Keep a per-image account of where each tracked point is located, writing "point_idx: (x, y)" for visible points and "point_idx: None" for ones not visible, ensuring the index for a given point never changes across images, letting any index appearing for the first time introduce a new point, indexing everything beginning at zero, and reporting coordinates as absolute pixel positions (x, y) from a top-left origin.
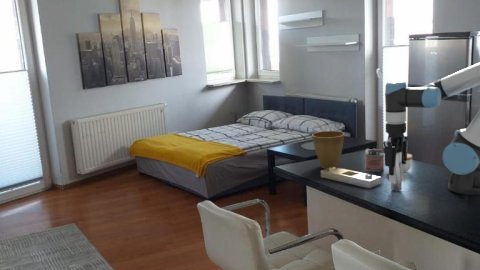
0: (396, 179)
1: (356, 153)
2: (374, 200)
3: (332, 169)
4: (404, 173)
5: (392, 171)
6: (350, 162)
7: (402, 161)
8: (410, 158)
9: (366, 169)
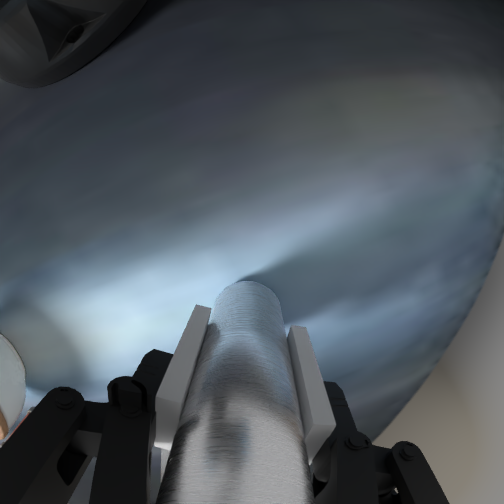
0: (285, 341)
1: None
2: (436, 334)
3: None
4: (3, 337)
5: (342, 407)
6: None
7: (150, 430)
8: None
9: None
